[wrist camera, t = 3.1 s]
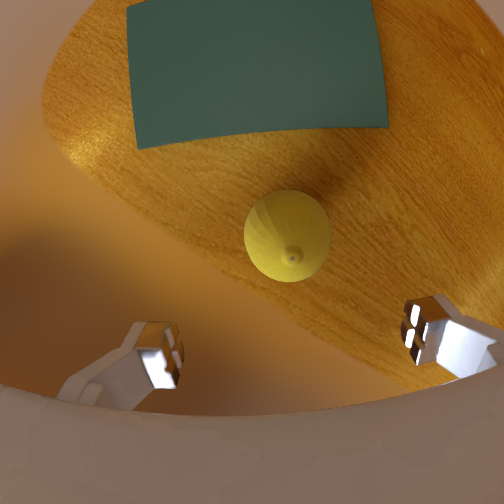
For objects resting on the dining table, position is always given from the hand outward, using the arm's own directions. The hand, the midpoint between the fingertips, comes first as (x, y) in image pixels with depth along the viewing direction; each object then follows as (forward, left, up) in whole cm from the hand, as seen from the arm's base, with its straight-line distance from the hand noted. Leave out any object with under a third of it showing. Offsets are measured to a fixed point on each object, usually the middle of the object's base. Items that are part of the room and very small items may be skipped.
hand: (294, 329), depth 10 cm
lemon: (0, 0, -14) cm, 14 cm away
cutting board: (+1, -12, -14) cm, 19 cm away
